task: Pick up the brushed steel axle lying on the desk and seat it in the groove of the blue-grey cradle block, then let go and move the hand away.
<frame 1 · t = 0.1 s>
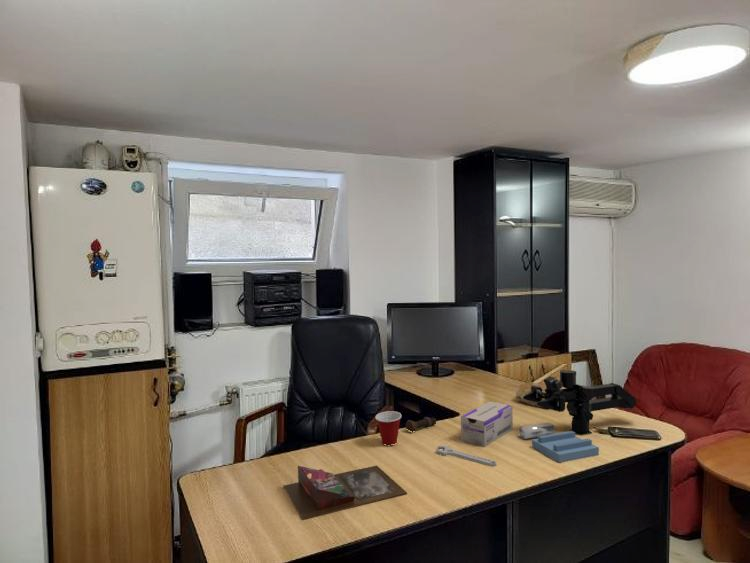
hand: (530, 400, 204), 17 cm above the table, tool horizontal, fingers open, 9 cm apart
axle: (536, 436, 209), on the table
surgical sutures box: (487, 436, 212), on the table
adjustable wrench: (463, 459, 189), on the table
petrified wood: (538, 405, 252), on the table
bolt: (422, 429, 222), on the table
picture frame: (343, 493, 165), on the table
plastic cup: (389, 444, 205), on the table
cradle: (564, 451, 193), on the table
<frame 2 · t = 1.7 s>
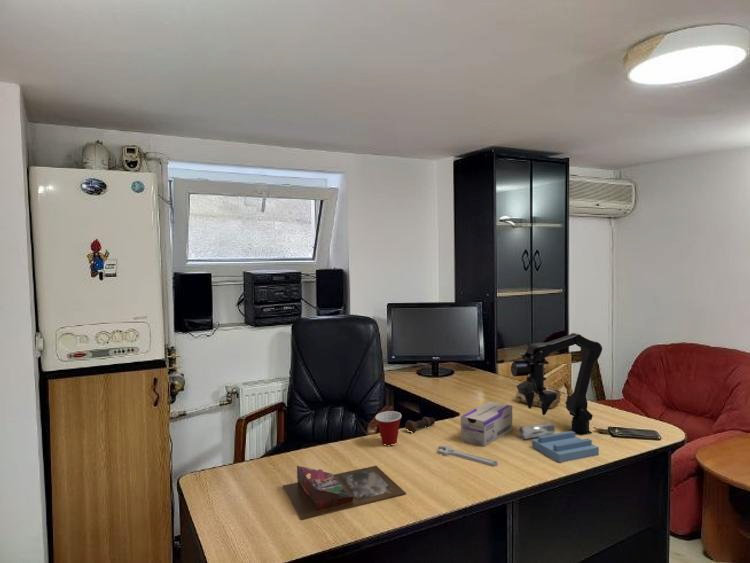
hand: (536, 411, 208), 10 cm above the table, tool pointing down, fingers open, 9 cm apart
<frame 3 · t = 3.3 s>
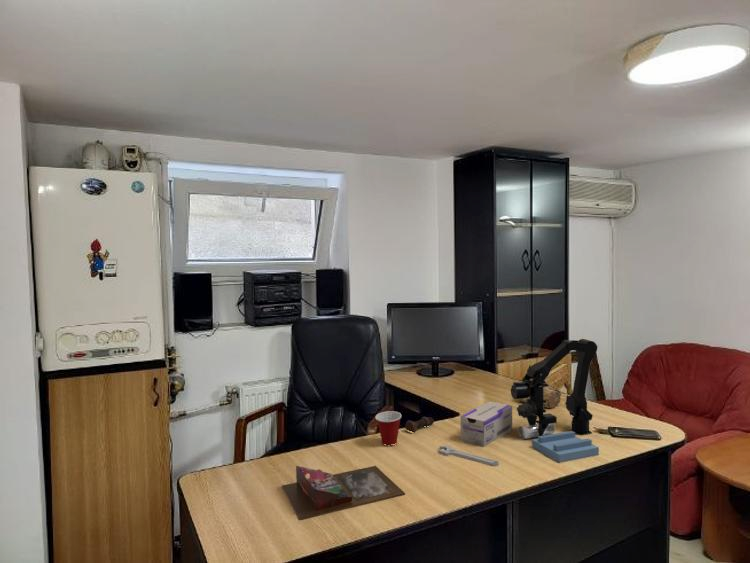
hand: (536, 433, 209), 1 cm above the table, tool pointing down, fingers closed on axle, 5 cm apart
axle: (536, 436, 209), on the table, touching gripper
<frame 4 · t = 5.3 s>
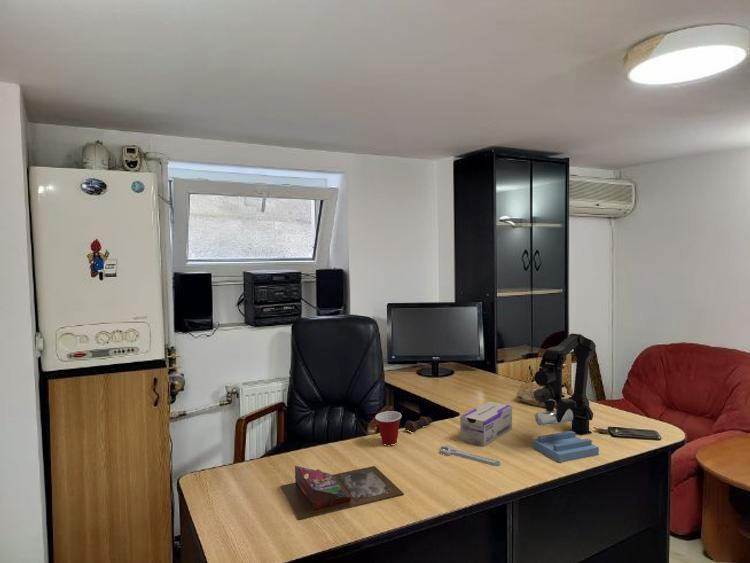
hand: (554, 420, 197), 10 cm above the table, tool pointing down, fingers closed on axle, 5 cm apart
axle: (554, 422, 198), point 9 cm above the table, touching gripper
when the fingers open (6 cm above the table, at t = 7.1 s): axle drops 2 cm, resting on cradle.
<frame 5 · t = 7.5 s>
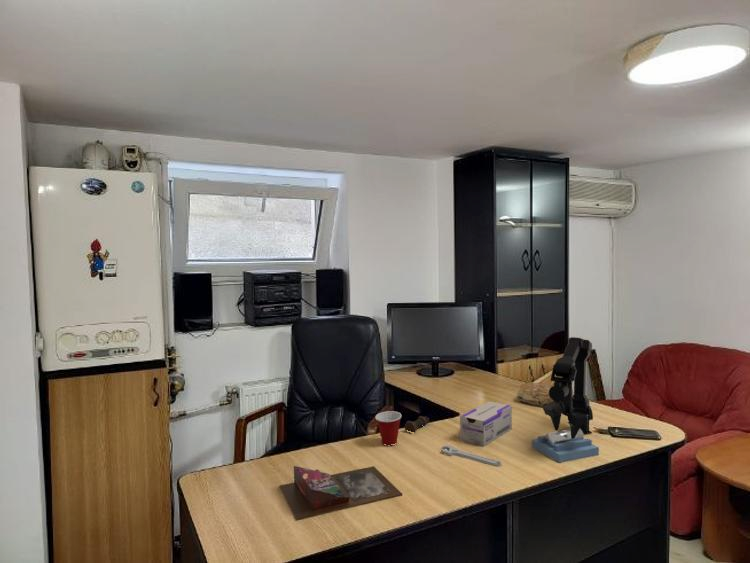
hand: (564, 434, 193), 6 cm above the table, tool pointing down, fingers open, 9 cm apart
axle: (564, 443, 193), point 3 cm above the table, touching cradle
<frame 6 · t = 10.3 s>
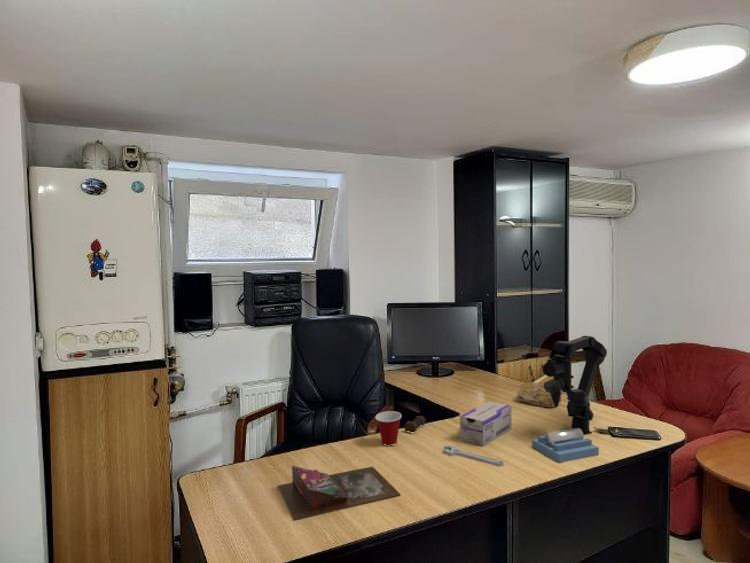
hand: (563, 410, 204), 12 cm above the table, tool pointing down, fingers open, 9 cm apart
at the end: axle inside the target area on the cradle (0.1 cm from its centre), point 3.0 cm above the cradle's base; the gripper is holding nothing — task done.
